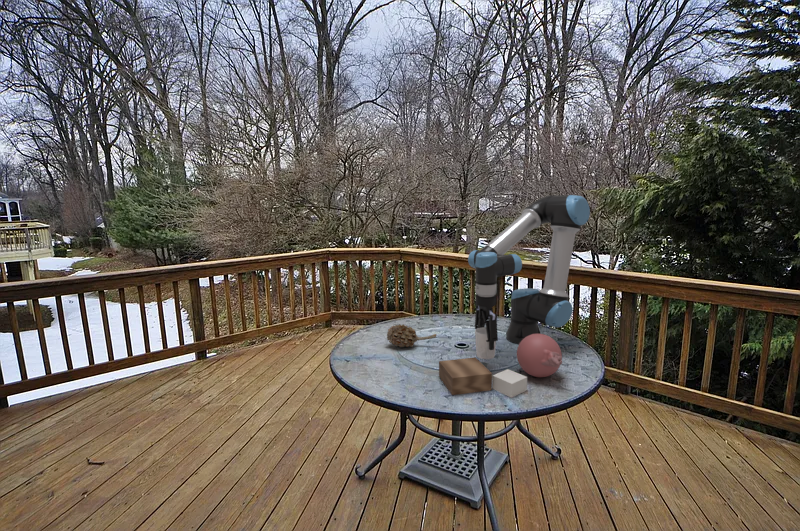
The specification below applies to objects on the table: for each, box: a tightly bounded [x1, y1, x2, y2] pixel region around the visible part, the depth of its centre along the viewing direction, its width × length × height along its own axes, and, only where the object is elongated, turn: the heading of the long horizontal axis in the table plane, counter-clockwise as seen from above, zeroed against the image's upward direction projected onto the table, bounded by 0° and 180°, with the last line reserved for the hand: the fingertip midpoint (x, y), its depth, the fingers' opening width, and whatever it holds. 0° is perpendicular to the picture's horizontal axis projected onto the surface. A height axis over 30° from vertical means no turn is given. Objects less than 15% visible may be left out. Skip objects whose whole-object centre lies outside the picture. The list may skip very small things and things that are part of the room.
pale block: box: [492, 368, 528, 399], centre depth 137 cm, size 8×8×5 cm
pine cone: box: [386, 324, 437, 348], centre depth 176 cm, size 22×10×10 cm, turn 92°
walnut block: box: [438, 356, 493, 396], centre depth 141 cm, size 14×14×6 cm
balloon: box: [516, 333, 563, 378], centre depth 144 cm, size 15×20×15 cm
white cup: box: [474, 326, 497, 360], centre depth 153 cm, size 8×8×10 cm
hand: (485, 352), depth 153 cm, fingers closed on white cup, 8 cm apart
